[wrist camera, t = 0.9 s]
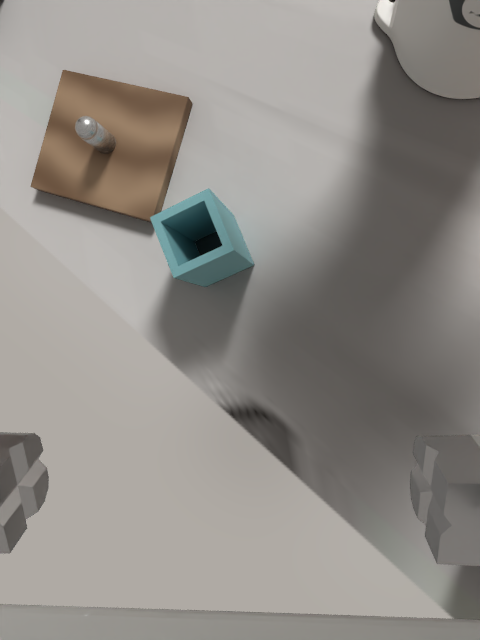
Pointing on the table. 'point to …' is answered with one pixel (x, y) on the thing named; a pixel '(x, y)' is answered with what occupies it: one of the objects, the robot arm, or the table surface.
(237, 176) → the table surface
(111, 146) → the steel stub
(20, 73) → the table surface
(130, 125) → the walnut plate
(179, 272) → the teal sleeve
